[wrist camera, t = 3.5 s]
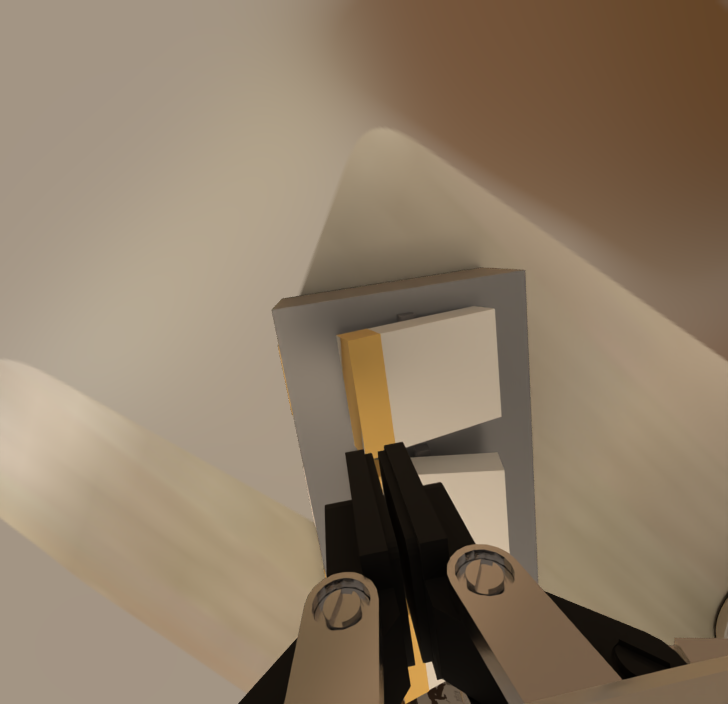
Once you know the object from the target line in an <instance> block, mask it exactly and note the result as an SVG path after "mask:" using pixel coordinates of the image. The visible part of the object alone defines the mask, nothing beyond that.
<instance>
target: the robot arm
mask: <svg viewBox="0 0 728 704" xmlns="http://www.w3.org/2000/svg"><path fill="white" fill-rule="evenodd" d="M345 456H346V463H347V470H348V477H349V484H350V491H351V498H352V500H347V501H342V502H337V503H332V504H326V505H325V542H326V576H327V578H325V579H323V580H322V581H321V582H319V583H318V584H317V585H316V586H315V587H314V588H313V589H312V591H311V592H310V593H309V595H308V597H307V599H306V602H305V605H304V609H303V614H302V619H301V623H300V628H299V633H298V638H297V639H296V640H295V641H294V642H293V643H292V644H291V645H290V646H289V648H288V649H287V650H286V651H285V652H284V653H283V654H282V655H281V657H280V658H279V659H278V660H277V661H276V662H275V663H274V664H273V665H272V667H271V668H270V669H269V670H268V671H267V672H266V673H265V674H264V675H263V677H262V678H261V679H260V680H259V681H258V682H257V683H256V684H255V685H254V687H253V688H252V689H251V690H250V691H249V692H248V693H247V694H246V696H245V697H244V698H243V699H242V700H241V701H240V702H239V703H238V704H401V703H402V701H403V699H404V697H405V696H406V694H407V692H408V690H409V689H410V687H411V684H410V677H409V670H408V667H411V666H415V658H414V651H413V644H412V637H411V630H410V623H409V616H408V609H407V604H408V608H409V612H410V616H411V620H412V624H413V628H414V631H415V635H416V639H417V643H418V647H419V651H420V654H421V658H422V662H423V663H428V662H432V664H433V667H434V671H435V674H436V678H437V680H440V679H443V680H445V681H446V682H448V683H449V684H451V685H452V686H454V687H456V688H457V689H459V690H460V695H461V698H462V701H463V704H728V598H727V599H726V601H725V603H724V604H723V606H722V608H721V610H720V613H719V616H718V618H717V624H716V638H675V641H674V645H667V644H666V643H664V642H663V641H662V640H660V639H658V638H656V637H654V636H652V635H650V634H648V633H646V632H644V631H641V630H639V629H636V628H634V627H632V626H629V625H627V624H624V623H622V622H619V621H617V620H614V619H612V618H609V617H607V616H604V615H602V614H600V613H597V612H595V611H592V610H590V609H587V608H585V607H582V606H580V605H577V604H575V603H572V602H570V601H567V600H565V599H563V598H560V597H558V596H555V595H553V594H550V593H548V592H545V591H544V590H543V589H542V588H541V587H540V586H539V585H538V584H537V583H536V581H535V580H534V579H533V578H532V577H531V576H530V575H529V574H528V572H527V571H526V570H525V569H524V568H523V567H522V566H521V564H520V563H519V562H518V561H517V560H516V559H515V558H514V557H513V556H511V555H510V554H509V553H508V552H506V551H504V550H502V549H500V548H498V547H495V546H491V545H487V544H476V543H475V542H474V540H473V538H472V536H471V534H470V533H469V531H468V529H467V527H466V525H465V524H464V522H463V520H462V518H461V516H460V514H459V513H458V511H457V509H456V507H455V505H454V504H453V502H452V500H451V498H450V496H449V495H448V493H447V491H446V489H445V487H444V486H443V484H442V483H441V482H437V483H432V484H427V485H423V484H422V482H421V480H420V478H419V476H418V473H417V471H416V469H415V467H414V465H413V463H412V460H411V458H410V456H409V454H408V452H407V450H406V447H405V445H404V443H403V442H398V443H393V444H388V445H384V450H383V451H378V459H379V466H380V473H381V479H382V486H383V491H382V487H381V483H380V480H379V476H378V473H377V469H376V466H375V462H374V458H373V455H372V453H368V454H365V453H364V449H361V450H356V451H351V452H345ZM383 493H384V494H383ZM406 601H407V602H406Z"/></svg>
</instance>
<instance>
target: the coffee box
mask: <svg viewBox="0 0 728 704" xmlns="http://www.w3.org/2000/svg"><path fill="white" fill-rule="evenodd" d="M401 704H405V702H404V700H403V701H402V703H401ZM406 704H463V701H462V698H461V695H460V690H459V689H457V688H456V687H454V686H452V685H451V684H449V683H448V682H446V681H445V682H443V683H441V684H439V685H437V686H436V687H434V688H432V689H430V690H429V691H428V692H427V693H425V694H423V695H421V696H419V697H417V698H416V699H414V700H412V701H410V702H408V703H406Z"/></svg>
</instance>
